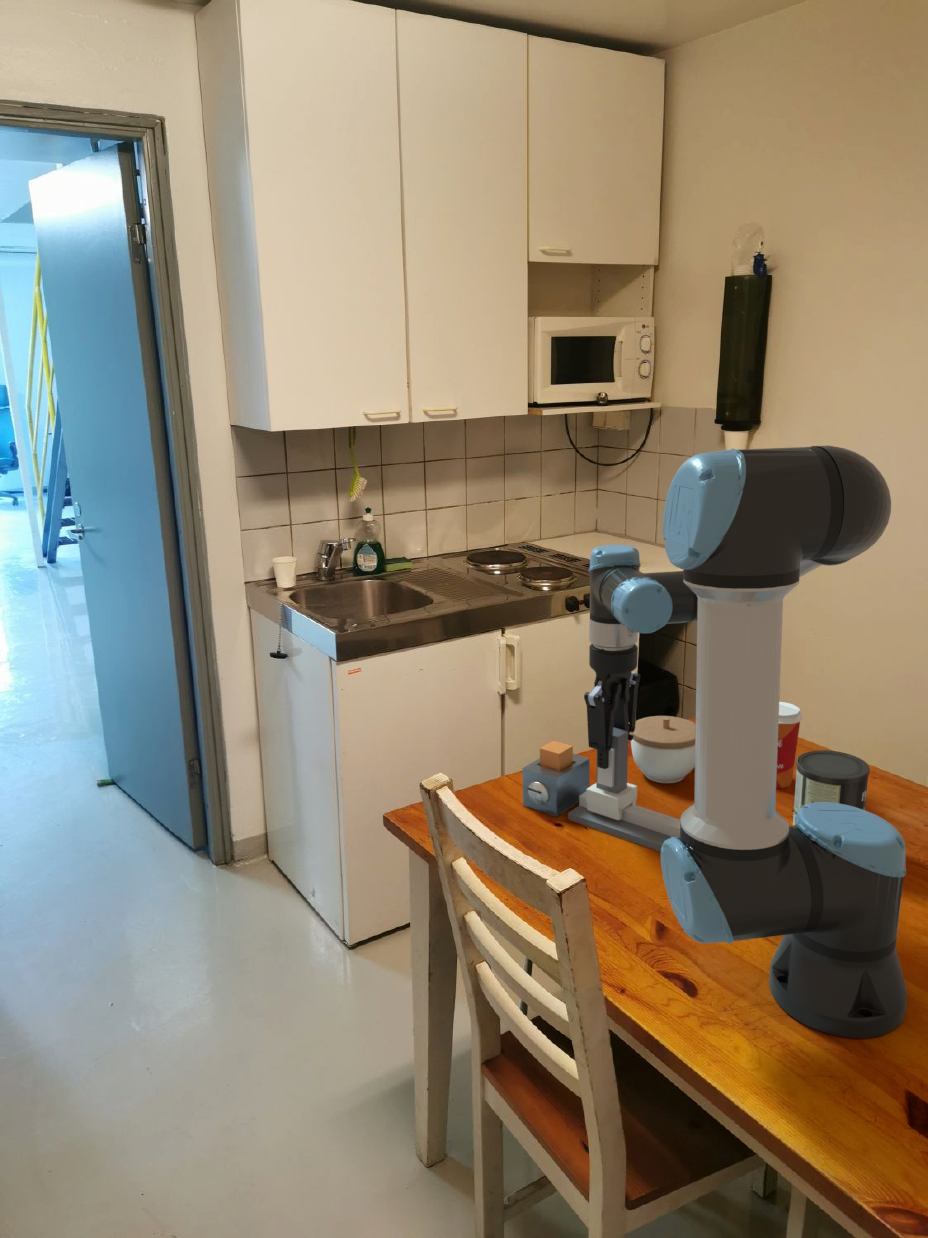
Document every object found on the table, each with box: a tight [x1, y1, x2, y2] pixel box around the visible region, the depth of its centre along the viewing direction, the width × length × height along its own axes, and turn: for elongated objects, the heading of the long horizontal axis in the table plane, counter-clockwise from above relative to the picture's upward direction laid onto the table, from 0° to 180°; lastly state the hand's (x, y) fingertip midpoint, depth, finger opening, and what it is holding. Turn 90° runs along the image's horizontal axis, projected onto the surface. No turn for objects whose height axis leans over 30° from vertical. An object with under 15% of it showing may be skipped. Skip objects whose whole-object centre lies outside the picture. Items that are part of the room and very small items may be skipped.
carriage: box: [586, 727, 638, 821], centre depth 150 cm, size 6×6×14 cm
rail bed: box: [567, 792, 680, 853], centre depth 150 cm, size 9×19×3 cm, turn 50°
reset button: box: [539, 740, 574, 772], centre depth 157 cm, size 4×4×4 cm
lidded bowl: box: [630, 715, 696, 784], centre depth 166 cm, size 13×13×11 cm
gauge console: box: [522, 753, 591, 818], centre depth 158 cm, size 11×7×7 cm, turn 140°
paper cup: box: [776, 701, 803, 790], centre depth 162 cm, size 8×8×14 cm
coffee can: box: [792, 749, 871, 826], centre depth 140 cm, size 10×10×14 cm
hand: (611, 780), depth 151 cm, fingers closed on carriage, 3 cm apart
